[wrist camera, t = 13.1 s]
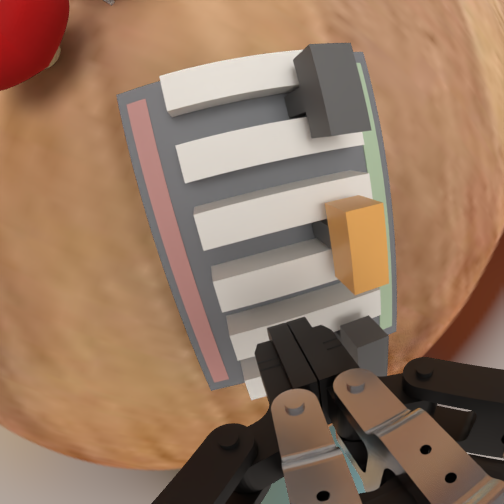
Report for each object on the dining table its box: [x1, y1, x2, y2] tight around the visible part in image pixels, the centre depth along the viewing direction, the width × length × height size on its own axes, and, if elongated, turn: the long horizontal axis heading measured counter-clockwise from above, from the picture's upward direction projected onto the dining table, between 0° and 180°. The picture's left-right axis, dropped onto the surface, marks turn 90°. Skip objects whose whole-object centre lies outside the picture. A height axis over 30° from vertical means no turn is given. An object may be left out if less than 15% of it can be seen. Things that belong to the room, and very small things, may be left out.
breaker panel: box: [117, 43, 397, 400], centre depth 21 cm, size 19×26×10 cm
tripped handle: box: [312, 195, 389, 295], centre depth 20 cm, size 2×5×7 cm, turn 13°
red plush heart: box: [0, 0, 69, 91], centre depth 14 cm, size 9×7×10 cm
